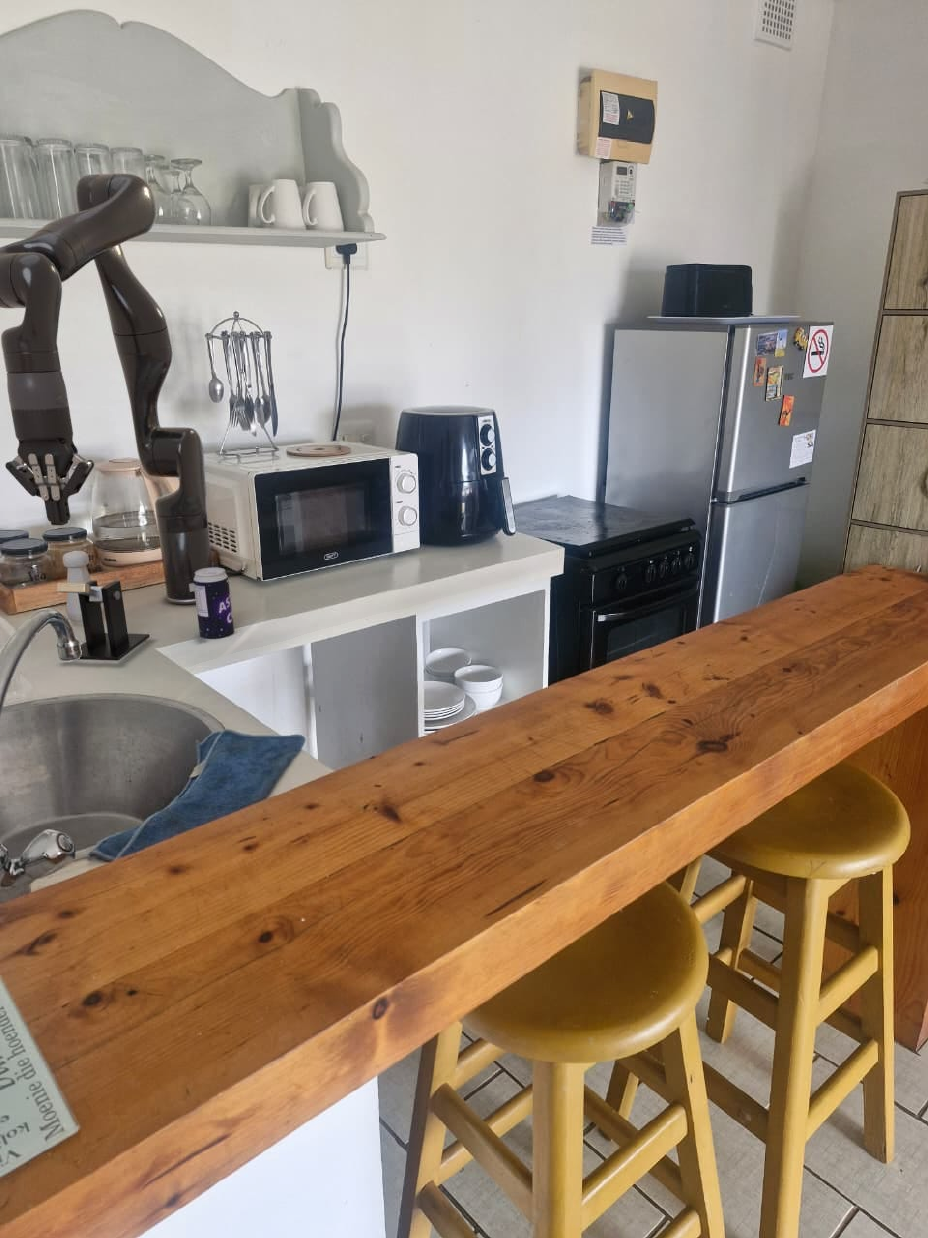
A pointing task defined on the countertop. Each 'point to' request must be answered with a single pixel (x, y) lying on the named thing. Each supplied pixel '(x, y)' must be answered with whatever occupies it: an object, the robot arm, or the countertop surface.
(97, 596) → the switch lever
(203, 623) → the beverage can
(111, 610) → the lever switch base
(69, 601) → the salt shaker
